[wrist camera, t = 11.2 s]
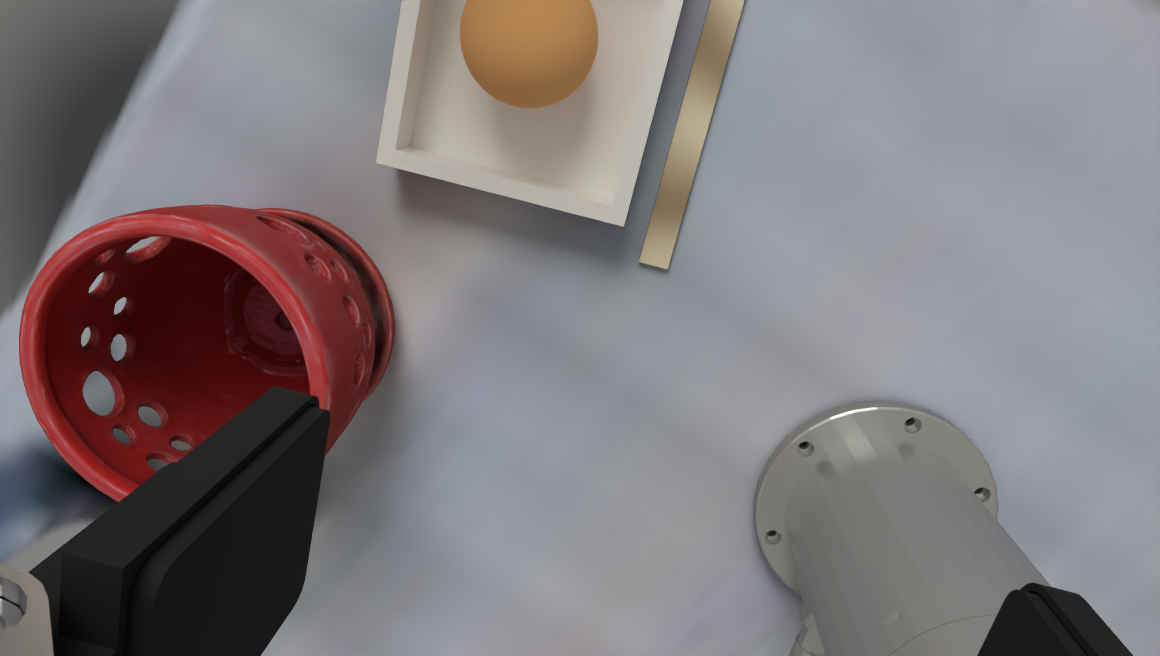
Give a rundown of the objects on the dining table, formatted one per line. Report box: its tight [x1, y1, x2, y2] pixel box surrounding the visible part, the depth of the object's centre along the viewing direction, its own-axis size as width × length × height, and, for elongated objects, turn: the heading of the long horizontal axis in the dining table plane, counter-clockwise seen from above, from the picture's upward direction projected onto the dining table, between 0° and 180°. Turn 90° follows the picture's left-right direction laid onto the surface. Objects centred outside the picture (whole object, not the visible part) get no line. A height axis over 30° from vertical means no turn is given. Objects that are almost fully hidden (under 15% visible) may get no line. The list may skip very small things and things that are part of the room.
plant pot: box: [19, 205, 395, 502], centre depth 36 cm, size 13×13×12 cm
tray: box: [376, 0, 684, 227], centre depth 36 cm, size 14×12×3 cm
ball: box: [460, 0, 598, 108], centre depth 34 cm, size 6×6×6 cm
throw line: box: [639, 0, 745, 269], centre depth 37 cm, size 20×2×1 cm, turn 167°
